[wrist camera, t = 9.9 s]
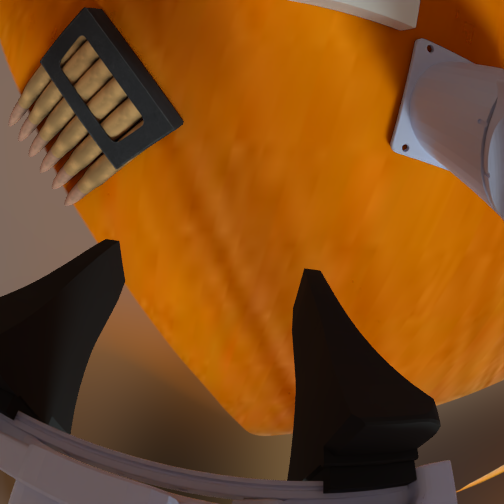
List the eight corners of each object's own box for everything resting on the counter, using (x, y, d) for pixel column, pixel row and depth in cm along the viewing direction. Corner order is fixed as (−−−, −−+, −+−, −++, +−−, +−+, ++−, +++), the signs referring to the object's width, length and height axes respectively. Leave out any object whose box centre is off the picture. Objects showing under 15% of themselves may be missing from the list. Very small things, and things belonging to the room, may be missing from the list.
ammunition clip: (100, 7, 14) (11, 114, 18) (84, 5, 12) (-3, 121, 17) (184, 123, 18) (78, 208, 23) (174, 130, 17) (66, 219, 22)
